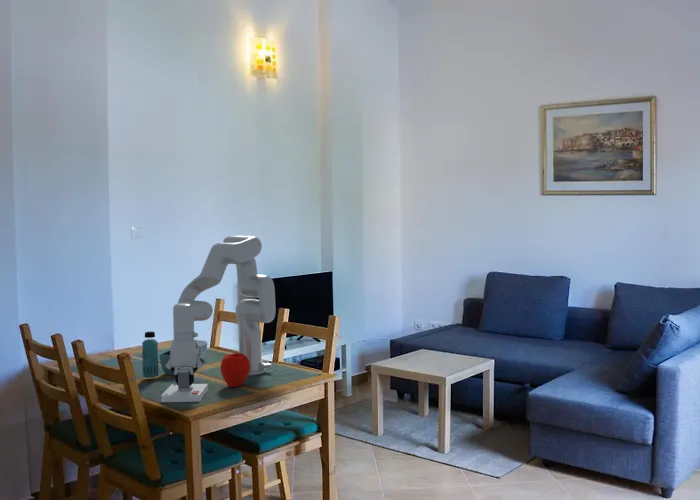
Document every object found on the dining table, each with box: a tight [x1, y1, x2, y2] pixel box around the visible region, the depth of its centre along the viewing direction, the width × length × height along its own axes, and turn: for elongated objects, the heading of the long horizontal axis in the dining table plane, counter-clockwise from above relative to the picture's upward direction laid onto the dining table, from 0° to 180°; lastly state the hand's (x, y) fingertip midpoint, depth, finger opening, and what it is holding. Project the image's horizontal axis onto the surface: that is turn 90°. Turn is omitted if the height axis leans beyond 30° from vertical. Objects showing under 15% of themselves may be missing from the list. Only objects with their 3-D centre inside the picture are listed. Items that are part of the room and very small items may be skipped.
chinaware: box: [196, 339, 208, 358], centre depth 323 cm, size 15×15×8 cm
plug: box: [178, 367, 191, 389], centre depth 260 cm, size 4×4×7 cm
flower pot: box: [158, 350, 185, 376], centre depth 296 cm, size 9×9×9 cm
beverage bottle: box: [141, 331, 160, 379], centre depth 286 cm, size 6×7×20 cm
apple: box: [220, 352, 250, 388], centre depth 274 cm, size 12×12×13 cm
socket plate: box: [160, 383, 209, 403], centre depth 261 cm, size 14×16×3 cm
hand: (184, 383), depth 260 cm, fingers closed on plug, 4 cm apart
